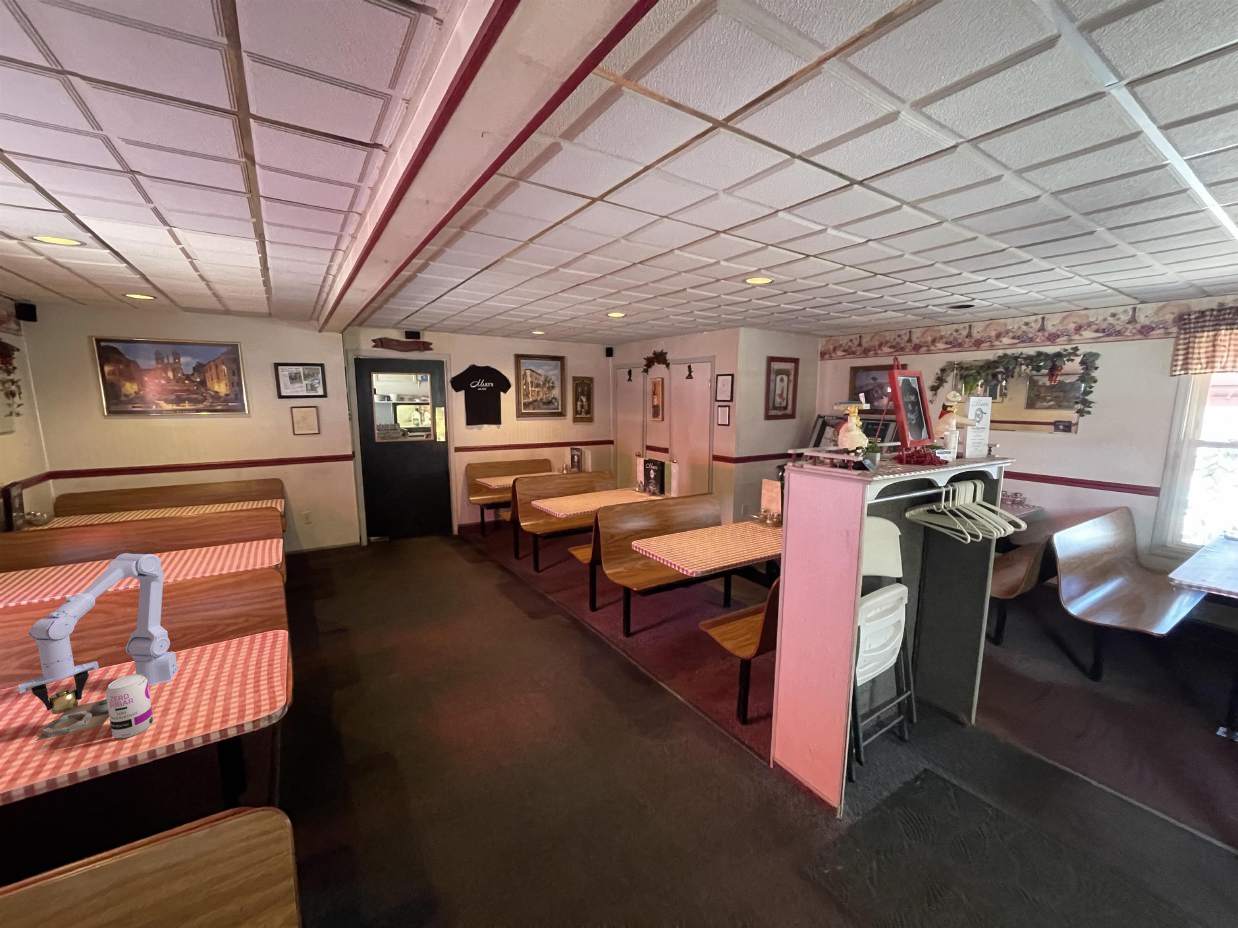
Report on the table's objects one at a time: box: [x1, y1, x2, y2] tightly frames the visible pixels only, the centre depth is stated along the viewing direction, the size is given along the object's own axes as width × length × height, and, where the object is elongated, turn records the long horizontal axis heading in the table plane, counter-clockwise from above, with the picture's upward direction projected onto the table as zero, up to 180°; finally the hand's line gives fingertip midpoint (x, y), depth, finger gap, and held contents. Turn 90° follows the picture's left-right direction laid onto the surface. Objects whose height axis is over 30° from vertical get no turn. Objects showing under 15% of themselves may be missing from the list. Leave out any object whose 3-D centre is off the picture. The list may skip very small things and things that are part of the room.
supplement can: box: [105, 673, 154, 739], centre depth 133 cm, size 8×8×15 cm
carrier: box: [35, 698, 110, 742], centre depth 139 cm, size 13×16×4 cm
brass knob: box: [48, 688, 79, 715], centre depth 134 cm, size 5×5×5 cm
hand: (64, 703), depth 134 cm, fingers closed on brass knob, 5 cm apart
